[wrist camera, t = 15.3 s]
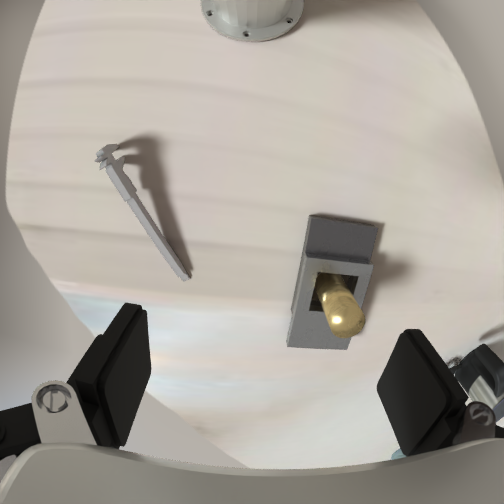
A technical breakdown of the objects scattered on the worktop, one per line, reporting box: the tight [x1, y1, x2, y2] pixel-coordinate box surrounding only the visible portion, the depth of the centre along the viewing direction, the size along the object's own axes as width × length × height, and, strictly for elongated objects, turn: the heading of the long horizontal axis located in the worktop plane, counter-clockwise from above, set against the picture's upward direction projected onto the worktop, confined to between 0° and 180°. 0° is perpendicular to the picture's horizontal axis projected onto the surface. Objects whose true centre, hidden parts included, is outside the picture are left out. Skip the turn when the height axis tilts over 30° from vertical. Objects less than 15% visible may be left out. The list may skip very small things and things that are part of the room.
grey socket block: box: [286, 215, 378, 350], centre depth 39 cm, size 18×9×3 cm, turn 173°
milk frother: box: [450, 344, 504, 422], centre depth 41 cm, size 14×16×15 cm
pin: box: [314, 272, 365, 338], centre depth 36 cm, size 4×4×10 cm
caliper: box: [95, 144, 190, 281], centre depth 34 cm, size 20×1×6 cm, turn 26°
